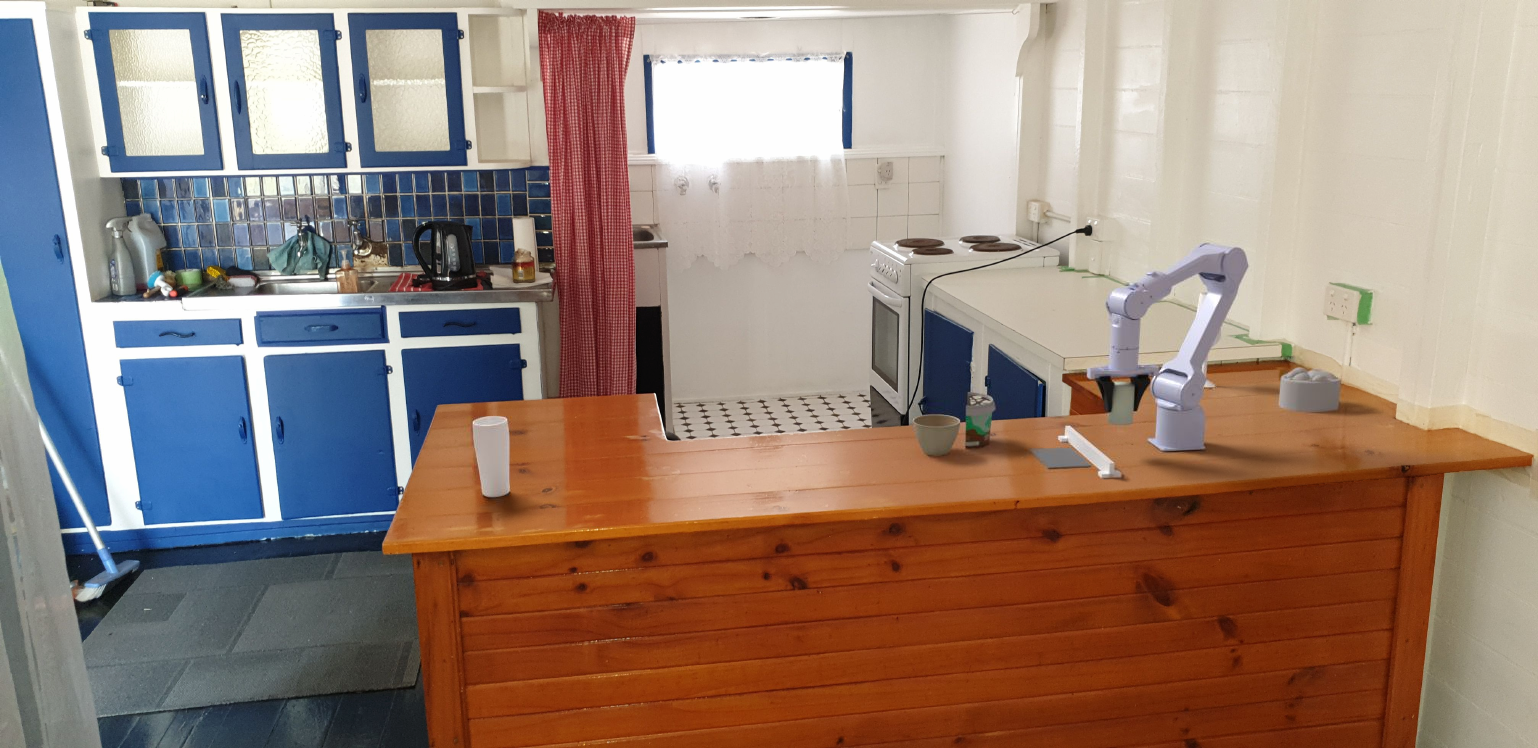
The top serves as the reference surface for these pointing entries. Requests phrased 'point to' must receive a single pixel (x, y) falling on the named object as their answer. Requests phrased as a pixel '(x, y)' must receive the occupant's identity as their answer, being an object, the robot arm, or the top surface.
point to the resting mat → (1060, 458)
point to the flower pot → (936, 433)
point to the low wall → (1090, 453)
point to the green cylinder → (1122, 404)
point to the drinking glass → (492, 454)
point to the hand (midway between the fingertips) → (1120, 410)
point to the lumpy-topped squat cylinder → (1309, 391)
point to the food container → (978, 420)
